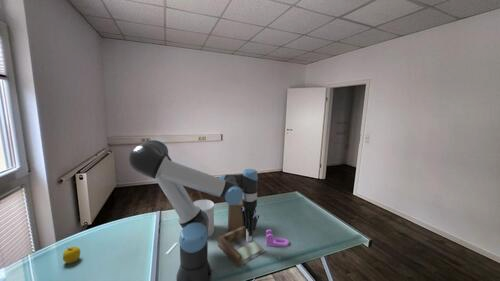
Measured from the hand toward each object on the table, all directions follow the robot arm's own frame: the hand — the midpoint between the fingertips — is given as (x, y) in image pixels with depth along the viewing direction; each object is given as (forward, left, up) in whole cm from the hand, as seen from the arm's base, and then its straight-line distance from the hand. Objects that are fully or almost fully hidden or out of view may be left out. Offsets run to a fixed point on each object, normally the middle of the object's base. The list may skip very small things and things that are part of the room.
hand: (248, 240), depth 104 cm
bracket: (+18, -5, -7) cm, 20 cm away
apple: (-73, +46, -7) cm, 87 cm away
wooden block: (+7, +20, -7) cm, 22 cm away
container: (-12, +31, -7) cm, 34 cm away
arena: (0, 0, -7) cm, 7 cm away
